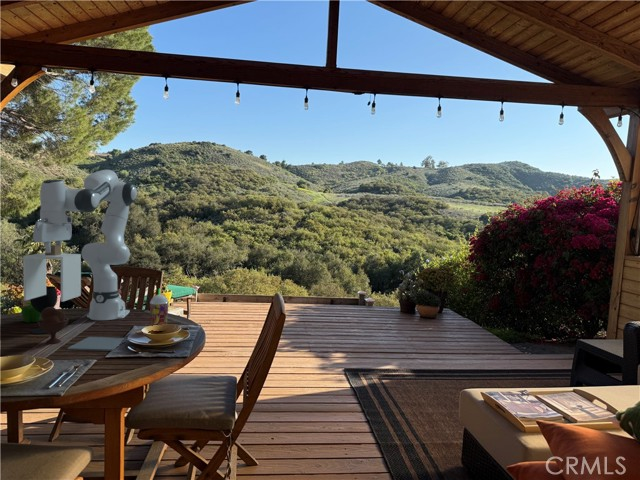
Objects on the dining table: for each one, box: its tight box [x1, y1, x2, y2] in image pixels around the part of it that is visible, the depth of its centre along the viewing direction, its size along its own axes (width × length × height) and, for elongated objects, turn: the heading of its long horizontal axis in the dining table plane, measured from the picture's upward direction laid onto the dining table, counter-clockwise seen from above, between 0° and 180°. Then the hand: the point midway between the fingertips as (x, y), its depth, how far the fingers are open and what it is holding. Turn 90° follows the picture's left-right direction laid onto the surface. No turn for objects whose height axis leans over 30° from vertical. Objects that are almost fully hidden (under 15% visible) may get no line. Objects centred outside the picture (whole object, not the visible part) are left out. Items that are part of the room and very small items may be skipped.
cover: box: [22, 244, 82, 302], centre depth 176 cm, size 13×16×22 cm
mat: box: [66, 336, 125, 352], centre depth 176 cm, size 16×18×1 cm
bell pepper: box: [21, 301, 42, 324], centre depth 209 cm, size 8×8×10 cm
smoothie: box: [149, 288, 170, 327], centre depth 199 cm, size 8×8×20 cm
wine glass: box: [29, 285, 58, 335], centre depth 192 cm, size 10×10×20 cm
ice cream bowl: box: [37, 306, 69, 345], centre depth 177 cm, size 11×11×15 cm
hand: (53, 252), depth 175 cm, fingers closed on cover, 4 cm apart
